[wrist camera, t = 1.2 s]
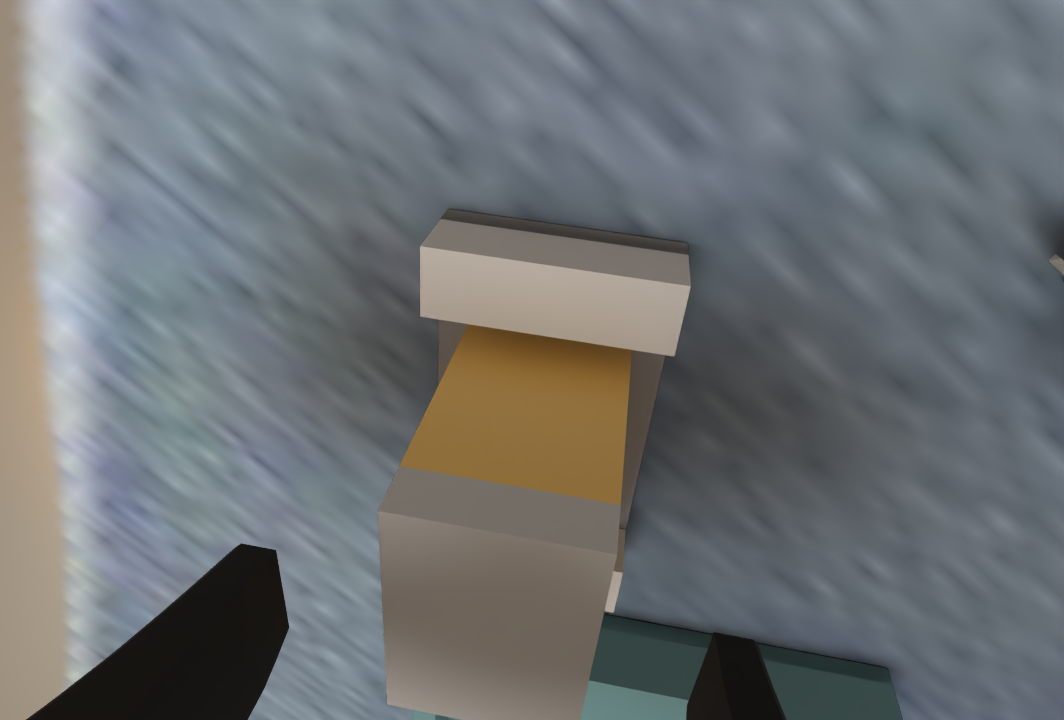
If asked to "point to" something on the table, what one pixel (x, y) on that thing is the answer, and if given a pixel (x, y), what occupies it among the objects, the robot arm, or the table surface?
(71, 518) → the table surface
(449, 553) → the orange and white block
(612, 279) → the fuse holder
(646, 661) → the parts tray
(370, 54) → the table surface
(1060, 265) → the electric motor
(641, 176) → the table surface
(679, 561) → the table surface
